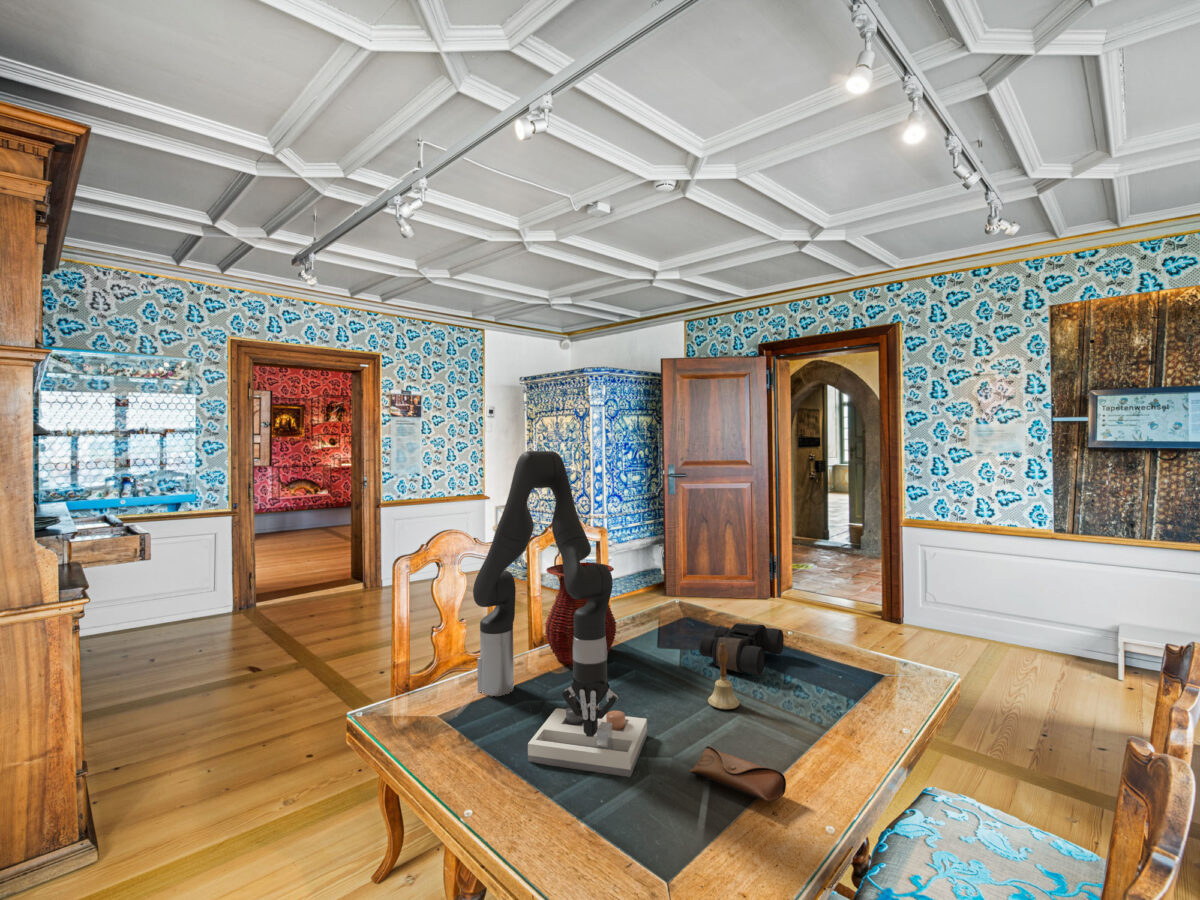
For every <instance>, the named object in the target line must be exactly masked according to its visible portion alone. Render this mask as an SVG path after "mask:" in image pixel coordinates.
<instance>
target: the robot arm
mask: <svg viewBox="0 0 1200 900" xmlns="http://www.w3.org/2000/svg"><path fill="white" fill-rule="evenodd" d="M518 457H519V458H518V460H516V461H517V462H516V464H515V467H514V472H513V476H512V479H511V480H512V481H511V485H510V489H509V491H508V496H507V500H506V503H505V506H504V509H503V512H502V514H501V516H500V518H499V522H498V524H497V527H496V529H495V532H494V535H493V539H492V542H491V545H490V548H489V549H488V551H487V555H486V557H485V559H484V561H483V563H482V565H481V567H480V569H479V571H478V573H477V576H476V577H475V580H474V583H473V590H472V594H473V595H472V596H473V601H474V603H475V604H476V605H477V606H478V607H480V608H481V607H482V608H490V607H494V609H493V610H492V611H491V612H489V613H488V614H487V615H485V616H484V617H482V618H481V619H480V622H479V640H480V641H479V647H480V649H479V654H480V656H479V657H477V660H476V662H477V692H478V691H481V692H483V693H484V694H486V695H490V696H489V697H493V696H495V697H500V696H502V695H503V696H506V695H509V694H510V692H511V693H512V692H513V691H514V690H515V688H514V684H515V681H514V679H515V678H514V676H515V673H514V666H515V665H514V664H515V663H514V621H515V617H516V616H515V615H516V581H515V580H516V579H515V578H514V576H513V574H512V573H511V572H510V571H508V570H506V569H508V568H509V566H511V565H512V564H513V563H514V562H515V561H516V560H517V559H519V557H520V556H522V554H523V553H524V552H525V551H526V549H527V547H528V545H529V543H530V539H531V538H532V535H533V532H534V527H535V526H534V520H533V516H532V514H531V512H530V509H529V506H528V501H529V497H530V494H531V492H532V490H534V489H547V488H548V489H549V488H550V490H551V492H552V494H553V496H554V502H555V504H554V506H555V507H554V511H553V515H552V521H551V531H552V536H553V538H554V540H555V543H556V545H557V548H558V551H559V553H560V556H561V562H562V563H561V564H563V570H564V582H565V587H566V590H567V592H568V593H569V595H570V596H571V597H573V598H574V599H577V600H581V599H586V598H589V599H588V602H587V604H586V605H584V606H583V607H581V608H579V609H577V610H576V611H575V613H574V641H573V665H572V677H573V678H572V682H571V684H570V686H569V687H566V688H565V689H564V691H563V692H562V694H561V695H562V697H563V699H564V700H565V702H566V703H567V705H568V707H571V709H572V710H573V712H574V713H575V715H576V716H581V717H582V718H583V723H584V733H586V736H587V737H593V736H594V735H595V734H596V732H597V729H598V719H602V718H603V717H604V716H605V714H607V713H608V712H610V710H611V708H612V707H613V706H614V705H615V703H616V702H617V701H618V699H619V694H618V692H613V690H611V687H610V684H609V682H608V652H607V644H606V636H605V635H606V633H605V616H606V612H607V609H608V605H609V604H610V600H611V596H612V592H613V584H614V581H613V575H612V571H611V572H610V570H609V569H608V567H607V566H605V565H606V564H605V563H599V564H592V565H586V566H582V565H581V564H580V563H581V561H583V560H585V559H587V557H589V556H590V555H591V552H592V547H591V544H590V540H589V538H588V536H587V534H586V531H585V530H584V527H583V524H582V523H581V520H580V518H579V514H578V512H577V508H576V505H575V501H574V500H575V499H574V497H573V493H572V488H571V484H570V480H569V477H568V473H567V472H568V471H567V470H566V467H565V464H564V461H563V459H562V456H561V455H560V454H559V453H558V452H556V451H552V450H551V451H550V450H528V451H524V452H522V453H521V454H520V456H518ZM604 564H605V565H604ZM481 692H480V693H481ZM484 694H483V695H484ZM505 694H506V695H505ZM486 695H485V696H486ZM503 696H502V697H503ZM605 696H606V698H605ZM604 698H605V700H606V703H605V704H604V706H602V708H601V709H599V707H600V704H601V703H600V702H601V701H602V700H603V699H604Z"/></svg>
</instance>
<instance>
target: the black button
mask: <svg viewBox="0 0 1200 900" xmlns="http://www.w3.org/2000/svg"><path fill="white" fill-rule="evenodd" d="M565 709H566V723H567V724H569V725H580V724H583V718H582V717H581V716H576V715H575V713H574V712H573V710H572V709H571V707H570V706H568V707H567V708H565Z"/></svg>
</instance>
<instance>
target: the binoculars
mask: <svg viewBox="0 0 1200 900" xmlns="http://www.w3.org/2000/svg"><path fill="white" fill-rule="evenodd" d="M713 632H714V633H713V636H708V635H703V636H701V638H700V640H699V644H698V650H699V654H700V656H701V657H704V658H705V657H707V658H712V662H713V664H714V666H716V667H719V668H720V664H719V660H718V649H719V646H720V643H725V647H726V649H727V654H728V659H727V664H726V670H729V671H732V672H736V673H739V674H745V673H747V674H752V675H756V676H761V675H762V674H763V672H764V668H765V664H766V663H765V662H766V656H765V655H766V654H765V652H767V653H770V654H775V655H780V654H782V652H783V649H784V631H783V630H782V629H779V628H775V627H771V628H769V627H766V626H765V625H764V624H756V623H745V622H743V623H742V622H738V623H735V624H734V625H733V626H732V627H731V628H729V627H726V626H722V625H717V626H716V627H715V629H714V631H713Z"/></svg>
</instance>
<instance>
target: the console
mask: <svg viewBox="0 0 1200 900" xmlns="http://www.w3.org/2000/svg"><path fill="white" fill-rule="evenodd" d="M566 709H567V708H555V709H554V710H553V711H552V713H551V714H550V716H548V718H547V719H546V720H545V722H544V723H543V724H542V725H541V727H540V728H539V729H538V730H537V732H535V734H534V735H533V737H532V738H531V739H530V740H529V741H528V743H527V762H529V763H535V764H539V765H540V764H541V765H547V766H553V767H559V768H566V769H574V770H580V771H587V772H595V773H600V774H608V775H613V776H621V777H627V778H631V776H632V774H633V772H634V769H635V767H636V764H637V762H638V759H639V757H640V755H641V752H642V749H643V747H644V745H645V743H646V739H647V737H648V719H647V718H644V717H635V716H626V715H625V728H624V729H622V730H612V750H608V749H600V748H597V732H596V734H595V735H594V736H593V737H587V736H586V733H584V723H583V724H580V725H569V724H567V723H566ZM606 714H607V713H606ZM606 714H605V716H604V717H603V718H602V719H598V727H599V726H600V724H601V722H606Z"/></svg>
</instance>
